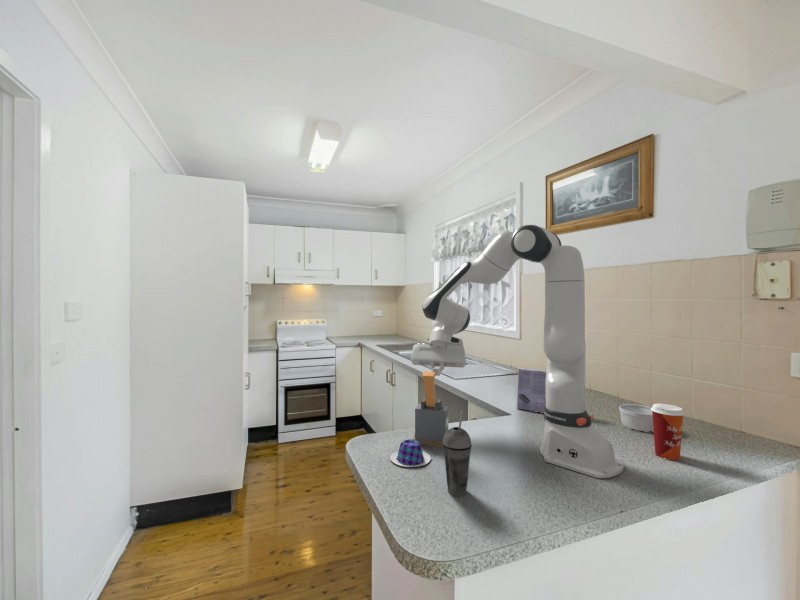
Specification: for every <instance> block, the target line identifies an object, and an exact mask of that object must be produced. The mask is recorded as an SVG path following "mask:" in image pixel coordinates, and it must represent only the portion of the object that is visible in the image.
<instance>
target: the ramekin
mask: <svg viewBox="0 0 800 600" xmlns="http://www.w3.org/2000/svg"><path fill="white" fill-rule="evenodd" d="M651 408H652V406H649V405H643V404H634V403H632V404H631V403H629V404H628V403H625V404H621V405H619V408H618V410H619V412H620V413H619V414H620V419H621V423H622V426H624V427H625V426H626V427H628V428H627V429H629V428H631V429H635V430H640V431H654V430H653V415H652V410H651ZM626 427H625V428H626ZM631 429H630V430H631ZM635 430H634V431H635ZM640 431H639V432H640Z"/></svg>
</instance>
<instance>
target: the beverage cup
mask: <svg viewBox="0 0 800 600" xmlns="http://www.w3.org/2000/svg"><path fill="white" fill-rule="evenodd" d="M463 412H464V411H463V409H460V414H459V423H458V426H454V427H451V428H448V431H447V432H446V433H445V435H444V438H443V443H442V445H443V447H442V450H443V453H444V463H445V475H446V486H447V492H448V493H449V494H450V495H451V496H454V497H455V496H456V497H461V496H465V495H466V494H467V488H468V480H469V479H468V478H469V468H470V467H469V466H470V457H471V452H472V447H473V445H472V441H471V437H470V434H469V433H468V432H467V431H466V430H465V428H462V422H463V420H462V419H463Z"/></svg>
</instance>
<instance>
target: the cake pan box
mask: <svg viewBox="0 0 800 600" xmlns="http://www.w3.org/2000/svg"><path fill="white" fill-rule="evenodd" d="M546 371H547V370H542V369H534V368H526V367H520V368H518V375H517V377H518V379H517V395H516V396H517V399H516V400H517V401H516V409H517V410H520V409H524V410H523V411H526V410H530V411H529V412H532V411H537V412H543V413H544V406H545V405H546ZM537 412H536V413H537ZM543 413H542V414H543Z"/></svg>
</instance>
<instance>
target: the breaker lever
mask: <svg viewBox="0 0 800 600" xmlns="http://www.w3.org/2000/svg"><path fill="white" fill-rule="evenodd" d="M435 377H436V376H435V372H432V371H428V370H427V371H426V370H424V371H423V372H422V377H421V379H422V381H423V385H424V386H423V387H424V388H423V389H424V398H426V407H429V408H436V402H437V400H436V399H437V398H436V387H435Z"/></svg>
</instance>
